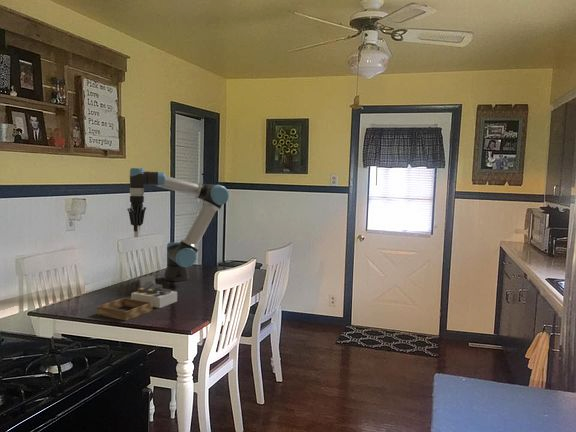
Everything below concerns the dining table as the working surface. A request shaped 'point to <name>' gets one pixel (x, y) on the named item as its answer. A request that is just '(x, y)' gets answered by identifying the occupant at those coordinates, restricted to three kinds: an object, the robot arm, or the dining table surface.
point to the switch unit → (156, 298)
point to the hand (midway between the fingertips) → (136, 236)
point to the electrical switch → (146, 280)
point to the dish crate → (113, 312)
